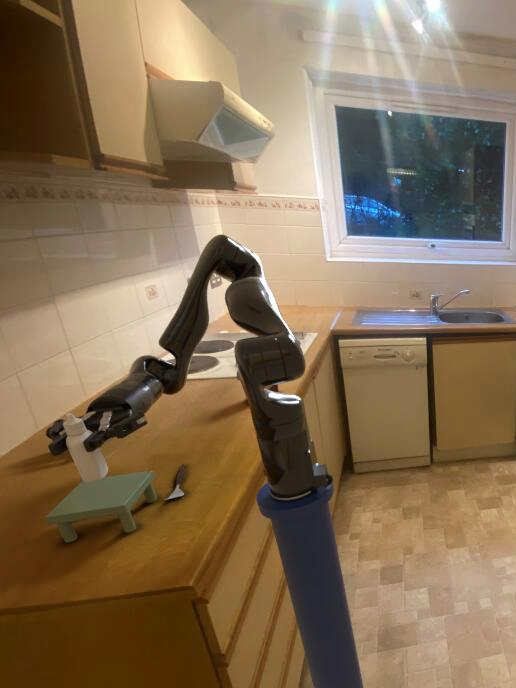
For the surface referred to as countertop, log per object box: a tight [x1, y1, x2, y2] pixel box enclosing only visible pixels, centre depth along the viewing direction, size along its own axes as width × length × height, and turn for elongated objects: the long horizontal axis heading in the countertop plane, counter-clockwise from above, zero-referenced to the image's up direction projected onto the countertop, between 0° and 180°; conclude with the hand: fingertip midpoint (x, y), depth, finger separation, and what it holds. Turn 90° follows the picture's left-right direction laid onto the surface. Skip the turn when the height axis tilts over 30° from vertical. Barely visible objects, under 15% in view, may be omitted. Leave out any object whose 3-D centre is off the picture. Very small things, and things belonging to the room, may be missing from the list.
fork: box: [163, 463, 185, 501], centre depth 89 cm, size 3×16×2 cm, turn 29°
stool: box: [44, 470, 158, 544], centre depth 79 cm, size 11×11×6 cm
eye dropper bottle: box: [63, 412, 109, 483], centre depth 74 cm, size 4×6×12 cm
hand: (71, 448), depth 71 cm, fingers closed on eye dropper bottle, 4 cm apart
